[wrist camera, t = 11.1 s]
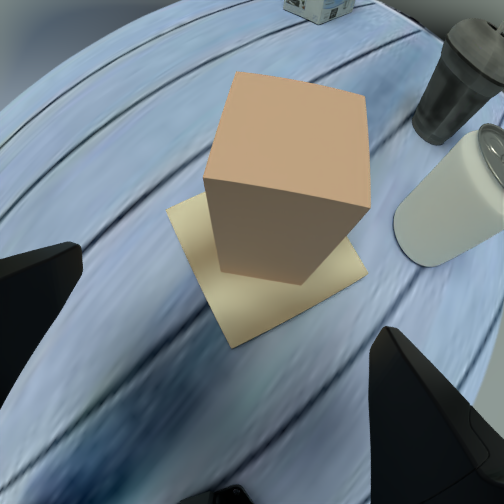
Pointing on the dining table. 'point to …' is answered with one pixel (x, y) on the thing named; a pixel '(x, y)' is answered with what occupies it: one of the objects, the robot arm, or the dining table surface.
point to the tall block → (286, 176)
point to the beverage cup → (461, 79)
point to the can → (455, 201)
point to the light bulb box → (319, 9)
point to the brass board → (254, 289)
